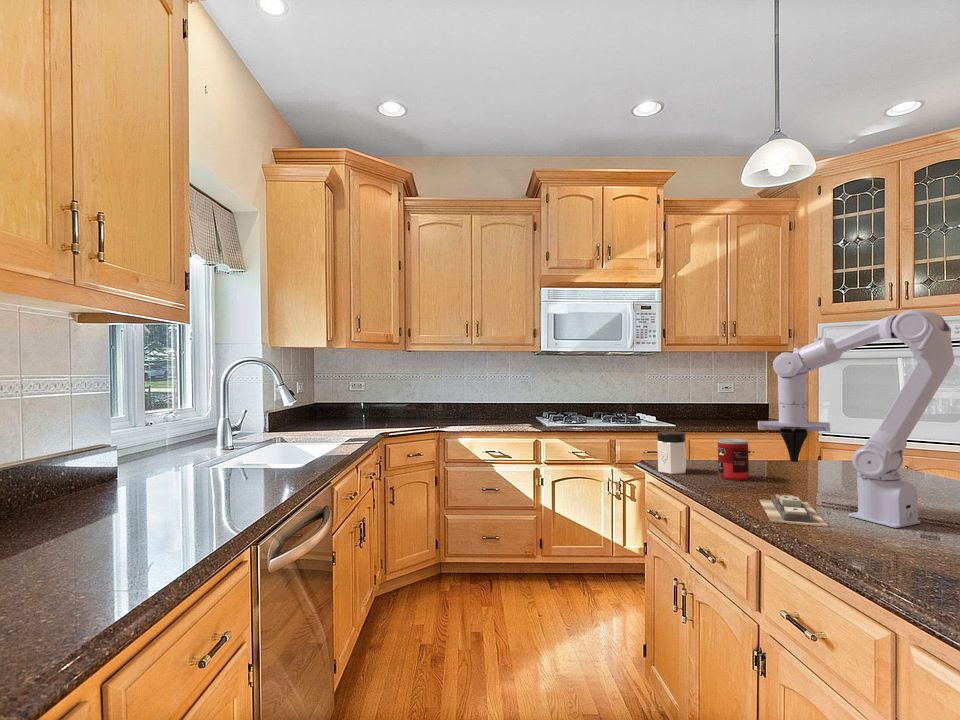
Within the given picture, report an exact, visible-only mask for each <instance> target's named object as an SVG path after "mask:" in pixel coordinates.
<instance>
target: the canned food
mask: <svg viewBox="0 0 960 720" xmlns="http://www.w3.org/2000/svg"><path fill="white" fill-rule="evenodd" d="M717 456H718V457H717V463H718V467H717V468H718V476H719V478H720V477H721V478H720V479H722V478H723V479H722V480H725V479H728V480H727V481H732V480H736V481H735V482H737V481H738V482H743V480H745V481H747V480H748V479H749V477H750V470H749V469H750V465H749V464H750V463H749V442H748V440H747V439H743V438H736V437H735V438H733V437H731V438H727V437H726V438H724V437H723V438H722V437H721V438H718V439H717Z"/></svg>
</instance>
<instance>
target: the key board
mask: <svg viewBox="0 0 960 720" xmlns="http://www.w3.org/2000/svg"><path fill="white" fill-rule="evenodd" d="M793 496H794V495H793ZM794 497H796V495H795V496H794ZM758 502H759V503H760V505H761V506H763V507H762V508H763V510H764V512H765V513H767V514H766V515H767V517H768V519H769V521H770V522H772V523H773V522H774V523H775V524H783V523H786V524H785V525H795V524H796V525H795V526H797V525H798V526H808V525H810V526H811V527H821V526H822V528H824V527H825V528H829V527H828V526H829V525H828V523H827V522H826V521H825V520H824V519H823V518H822V517H821V516H820V515H819V513H817V511H816V510H815V509H814V508H813V506H811V505H810V504H809V502H807V501H801V507H797V508H804V509H805V511H806V512H807V515H803V514H789V513H785V511H784V507H787V506H782V505H781V503H780V500H776V498H775V494H771V495H770V499H759V500H758ZM810 526H809V527H810Z"/></svg>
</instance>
